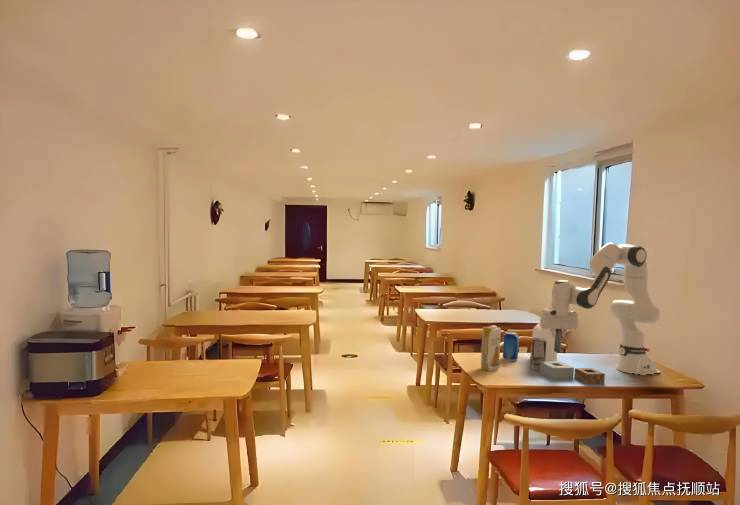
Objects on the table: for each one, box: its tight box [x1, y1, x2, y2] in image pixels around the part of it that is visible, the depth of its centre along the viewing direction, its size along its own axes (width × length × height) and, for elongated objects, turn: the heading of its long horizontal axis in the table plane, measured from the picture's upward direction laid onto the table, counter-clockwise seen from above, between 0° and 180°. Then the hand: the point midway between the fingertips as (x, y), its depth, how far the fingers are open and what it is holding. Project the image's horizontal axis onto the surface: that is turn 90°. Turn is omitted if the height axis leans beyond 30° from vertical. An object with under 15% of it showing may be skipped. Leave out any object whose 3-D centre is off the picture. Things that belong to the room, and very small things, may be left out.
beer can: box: [502, 331, 520, 362], centre depth 275 cm, size 8×8×16 cm
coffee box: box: [530, 338, 546, 372], centre depth 259 cm, size 9×6×16 cm
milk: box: [529, 322, 558, 361], centre depth 275 cm, size 12×12×26 cm
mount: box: [573, 367, 606, 385], centre depth 241 cm, size 10×10×5 cm
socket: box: [539, 360, 575, 381], centre depth 247 cm, size 12×12×6 cm
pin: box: [554, 328, 563, 353], centre depth 246 cm, size 4×4×13 cm
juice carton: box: [480, 325, 502, 372], centre depth 254 cm, size 9×8×24 cm
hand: (558, 337), depth 246 cm, fingers closed on pin, 3 cm apart
